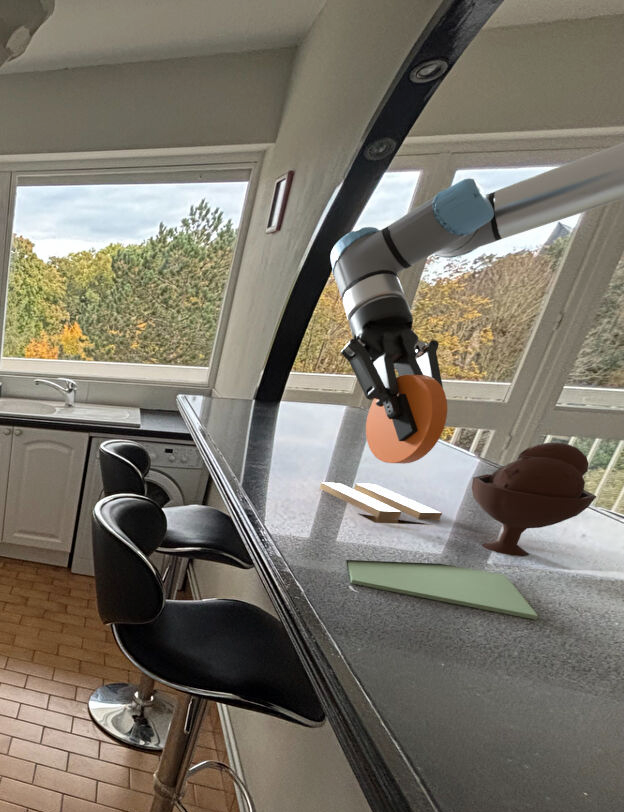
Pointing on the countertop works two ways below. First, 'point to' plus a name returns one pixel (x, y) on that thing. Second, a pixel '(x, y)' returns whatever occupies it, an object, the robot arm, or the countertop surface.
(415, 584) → the sage mat
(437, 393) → the orange disc
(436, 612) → the countertop surface
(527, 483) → the ice cream bowl
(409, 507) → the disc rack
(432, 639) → the countertop surface
